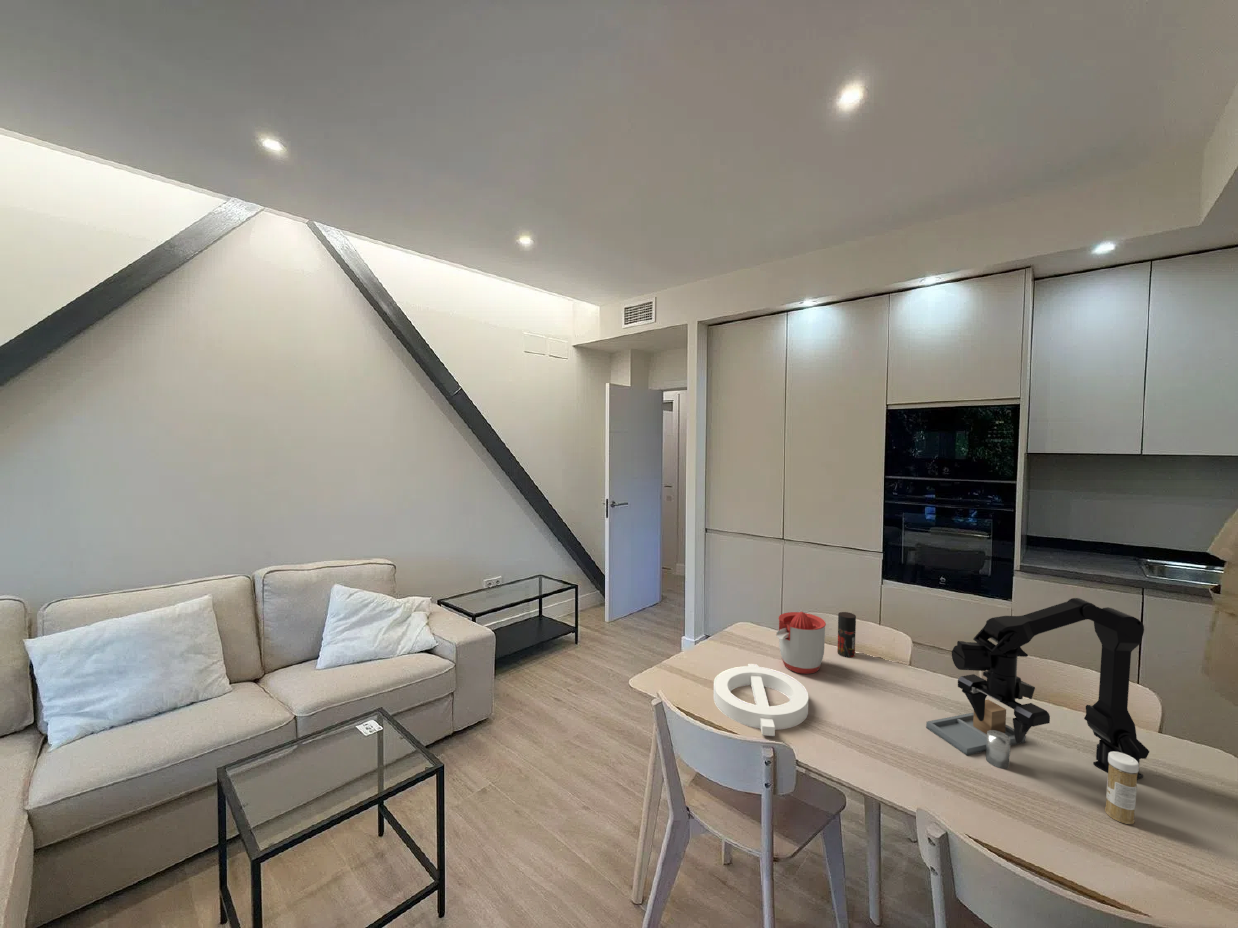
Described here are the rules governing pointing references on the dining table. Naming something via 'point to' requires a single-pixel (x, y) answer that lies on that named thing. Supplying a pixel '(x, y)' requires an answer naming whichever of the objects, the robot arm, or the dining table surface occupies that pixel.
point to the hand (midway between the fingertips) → (999, 731)
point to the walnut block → (991, 718)
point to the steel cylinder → (998, 749)
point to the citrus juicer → (801, 641)
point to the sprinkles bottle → (1121, 787)
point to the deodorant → (846, 634)
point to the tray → (965, 733)
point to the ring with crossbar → (761, 698)
